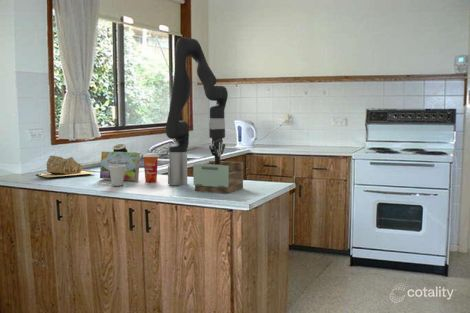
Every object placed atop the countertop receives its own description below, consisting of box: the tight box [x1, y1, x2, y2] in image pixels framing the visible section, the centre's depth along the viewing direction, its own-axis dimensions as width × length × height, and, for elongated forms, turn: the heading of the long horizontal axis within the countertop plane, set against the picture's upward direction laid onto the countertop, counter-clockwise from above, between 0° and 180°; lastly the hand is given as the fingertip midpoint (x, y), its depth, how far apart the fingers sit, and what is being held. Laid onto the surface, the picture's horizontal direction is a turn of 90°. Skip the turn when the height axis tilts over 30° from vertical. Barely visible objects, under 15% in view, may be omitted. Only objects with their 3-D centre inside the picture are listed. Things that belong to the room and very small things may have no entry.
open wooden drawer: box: [194, 160, 244, 194], centre depth 243 cm, size 18×16×13 cm
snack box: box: [99, 151, 141, 181], centre depth 276 cm, size 21×6×15 cm, turn 76°
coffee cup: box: [142, 152, 159, 183], centre depth 272 cm, size 8×8×15 cm
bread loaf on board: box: [39, 155, 93, 178], centre depth 299 cm, size 28×22×16 cm
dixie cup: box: [109, 165, 125, 187], centre depth 259 cm, size 8×8×10 cm
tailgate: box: [192, 163, 229, 188], centre depth 234 cm, size 18×2×10 cm, turn 65°
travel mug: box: [111, 143, 128, 152], centre depth 284 cm, size 8×8×18 cm
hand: (217, 164), depth 240 cm, fingers closed
